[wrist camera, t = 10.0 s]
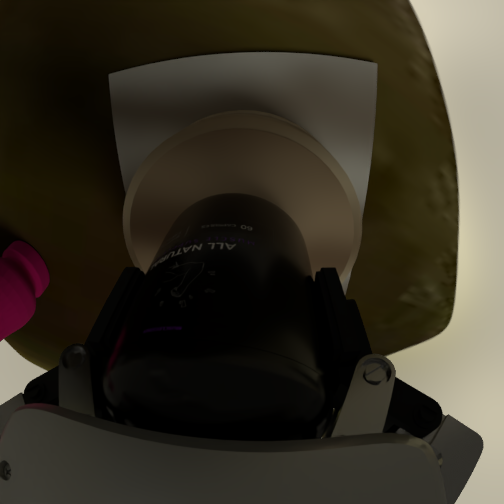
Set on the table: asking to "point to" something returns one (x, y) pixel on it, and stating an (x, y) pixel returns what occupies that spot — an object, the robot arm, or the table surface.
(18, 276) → the pepper mill
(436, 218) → the table surface
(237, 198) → the supplement bottle
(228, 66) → the pedestal
